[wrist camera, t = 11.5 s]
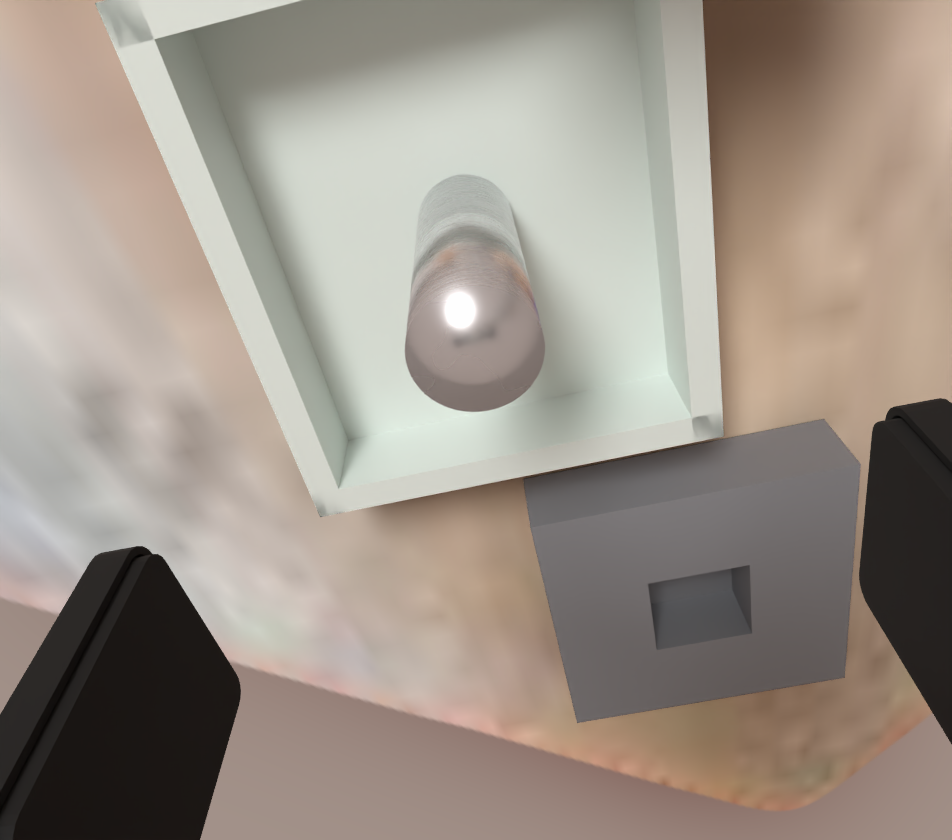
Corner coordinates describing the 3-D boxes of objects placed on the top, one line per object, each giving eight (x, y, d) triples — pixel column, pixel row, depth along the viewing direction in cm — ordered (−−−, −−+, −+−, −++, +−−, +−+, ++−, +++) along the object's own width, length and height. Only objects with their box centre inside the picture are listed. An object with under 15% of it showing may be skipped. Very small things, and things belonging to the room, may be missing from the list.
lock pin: (502, 164, 22) (531, 271, 15) (520, 256, 24) (555, 396, 16) (407, 186, 23) (387, 304, 15) (431, 276, 24) (424, 423, 17)
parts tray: (652, -141, 19) (694, -160, 16) (691, 380, 28) (723, 436, 24) (150, -5, 20) (94, 3, 17) (334, 454, 29) (320, 516, 26)
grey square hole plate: (823, 418, 29) (860, 463, 26) (815, 625, 35) (844, 677, 33) (523, 479, 30) (530, 527, 27) (567, 668, 36) (577, 722, 34)
